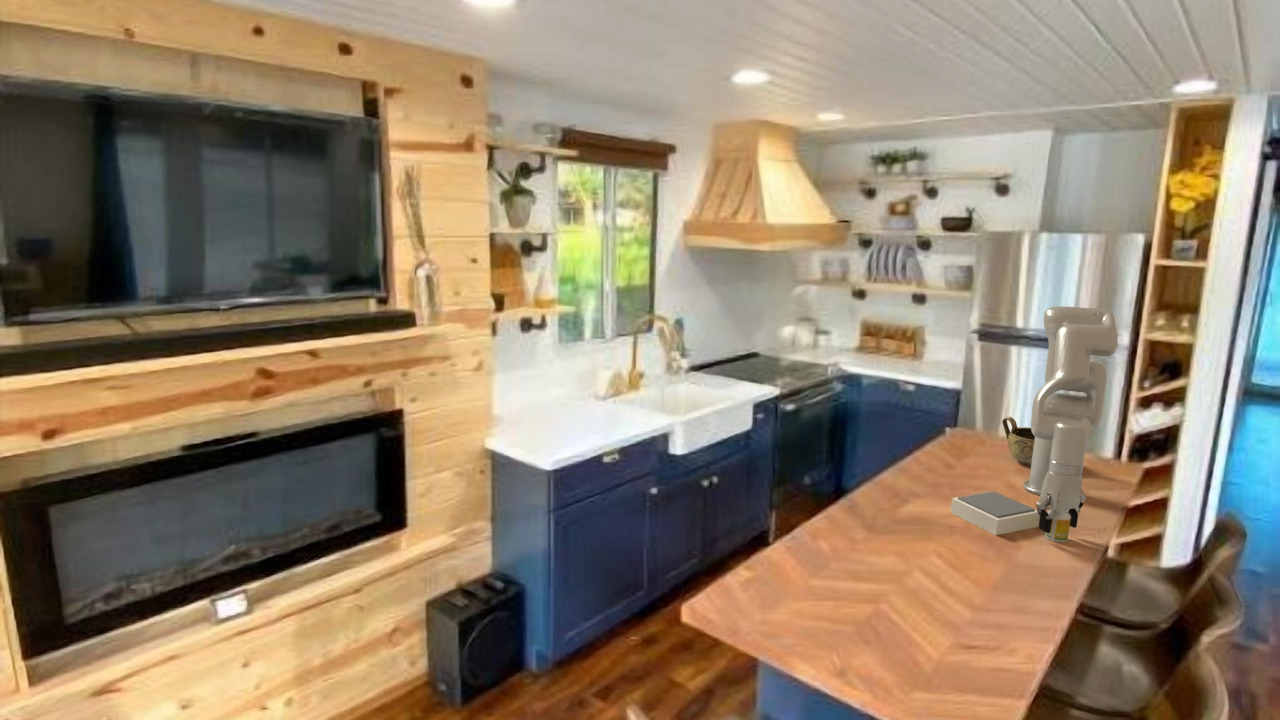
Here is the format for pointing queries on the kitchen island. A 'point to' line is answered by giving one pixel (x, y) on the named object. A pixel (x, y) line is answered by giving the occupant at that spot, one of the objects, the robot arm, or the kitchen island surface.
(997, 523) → the plate
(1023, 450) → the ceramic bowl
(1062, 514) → the supplement bottle
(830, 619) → the kitchen island surface
